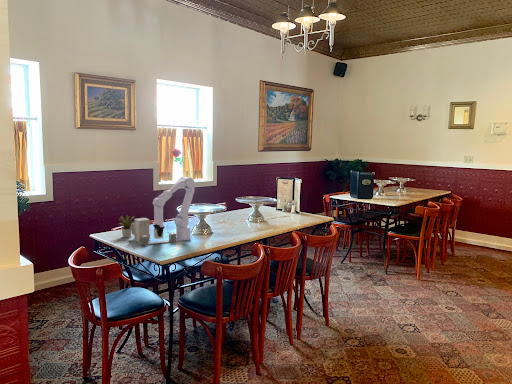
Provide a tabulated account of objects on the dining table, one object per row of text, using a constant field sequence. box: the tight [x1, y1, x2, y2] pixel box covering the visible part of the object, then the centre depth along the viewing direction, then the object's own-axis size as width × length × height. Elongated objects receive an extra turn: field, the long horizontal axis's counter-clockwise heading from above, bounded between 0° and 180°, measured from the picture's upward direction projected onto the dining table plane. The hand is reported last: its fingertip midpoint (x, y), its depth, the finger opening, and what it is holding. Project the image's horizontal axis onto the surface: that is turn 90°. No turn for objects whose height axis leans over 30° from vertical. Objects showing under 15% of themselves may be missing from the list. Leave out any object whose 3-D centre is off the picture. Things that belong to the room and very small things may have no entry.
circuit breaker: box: [131, 217, 151, 244], centre depth 268 cm, size 8×14×15 cm, turn 41°
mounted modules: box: [140, 232, 176, 246], centre depth 260 cm, size 22×5×5 cm, turn 119°
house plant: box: [118, 215, 135, 238], centre depth 274 cm, size 14×14×16 cm
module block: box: [153, 228, 164, 240], centre depth 259 cm, size 5×5×6 cm
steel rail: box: [139, 239, 178, 247], centre depth 260 cm, size 24×4×1 cm, turn 119°
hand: (158, 235), depth 260 cm, fingers closed on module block, 4 cm apart
